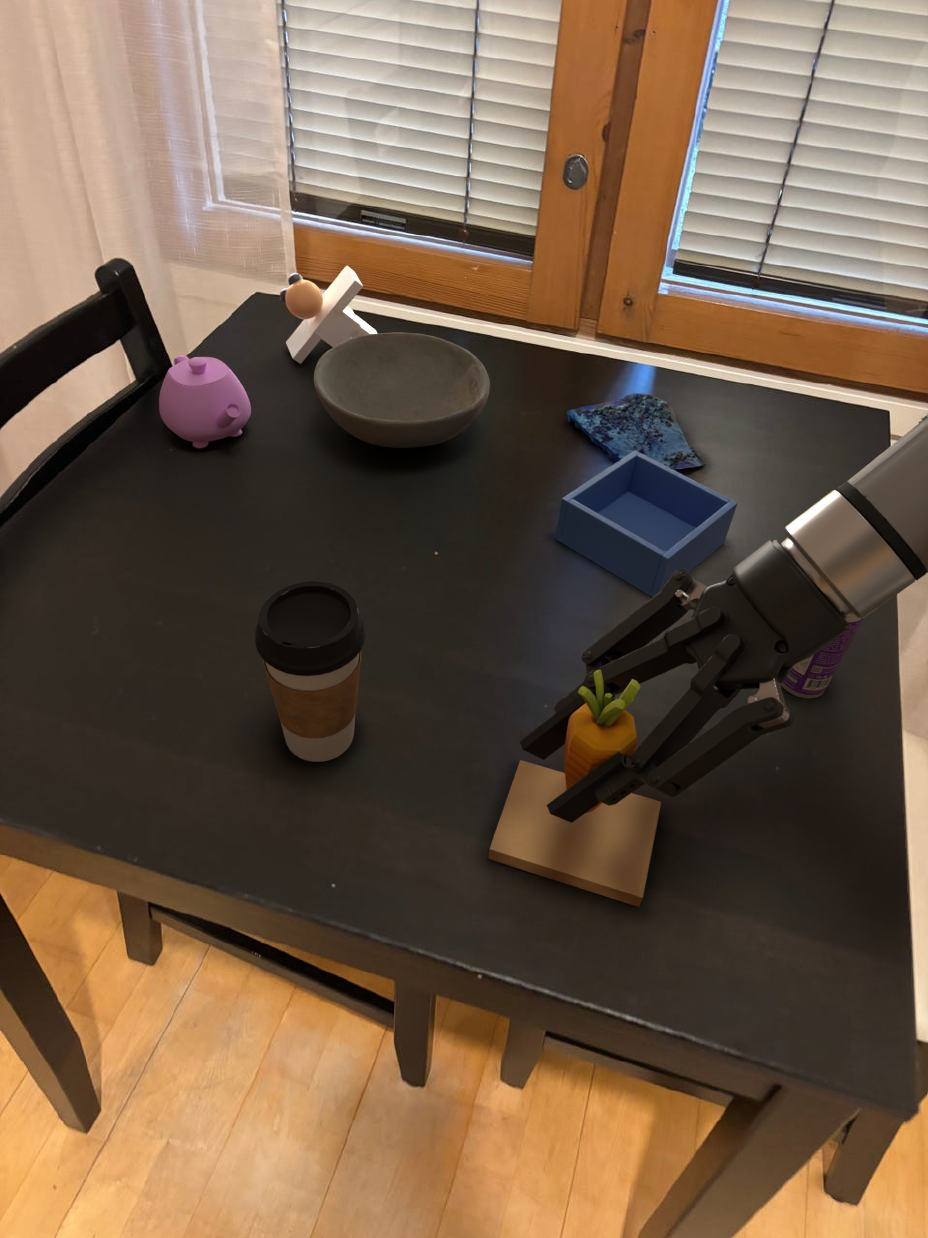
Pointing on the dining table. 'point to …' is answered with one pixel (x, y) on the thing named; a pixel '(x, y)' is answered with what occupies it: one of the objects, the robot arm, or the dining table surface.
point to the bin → (644, 521)
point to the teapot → (203, 400)
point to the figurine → (323, 313)
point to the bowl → (401, 388)
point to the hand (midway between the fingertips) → (545, 781)
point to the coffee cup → (313, 665)
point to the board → (576, 837)
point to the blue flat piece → (637, 430)
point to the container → (820, 665)
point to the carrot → (598, 731)
